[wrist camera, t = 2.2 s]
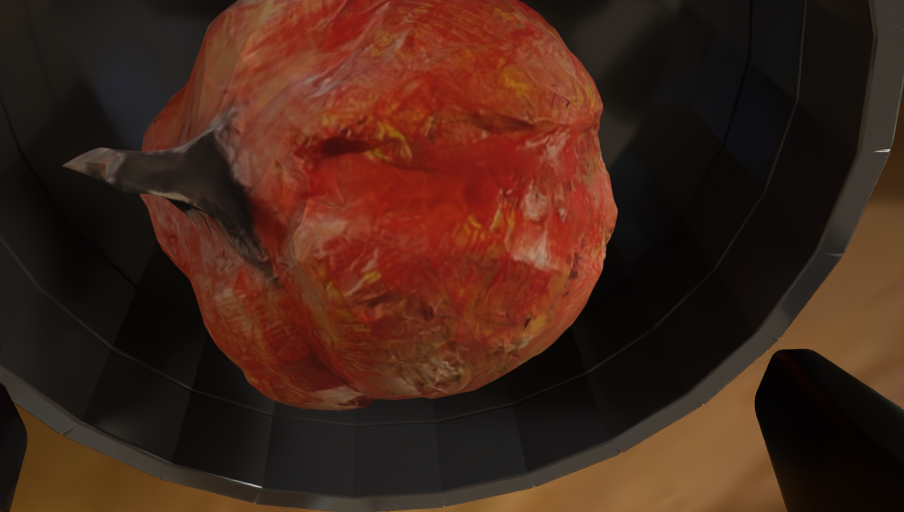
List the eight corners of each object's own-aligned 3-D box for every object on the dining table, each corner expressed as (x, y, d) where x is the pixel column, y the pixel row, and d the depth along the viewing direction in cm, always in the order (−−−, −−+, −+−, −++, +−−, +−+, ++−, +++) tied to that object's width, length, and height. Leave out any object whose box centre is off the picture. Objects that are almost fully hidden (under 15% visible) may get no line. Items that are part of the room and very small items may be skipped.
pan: (672, 357, 20) (736, 491, 17) (90, 380, 19) (24, 533, 15) (909, -401, 11) (1175, -464, 7) (-242, -478, 9) (-629, -607, 6)
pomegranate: (582, -6, 16) (246, -378, 7) (753, 283, 14) (566, 250, 5) (347, 172, 19) (-86, 62, 10) (456, 430, 17) (27, 566, 8)
